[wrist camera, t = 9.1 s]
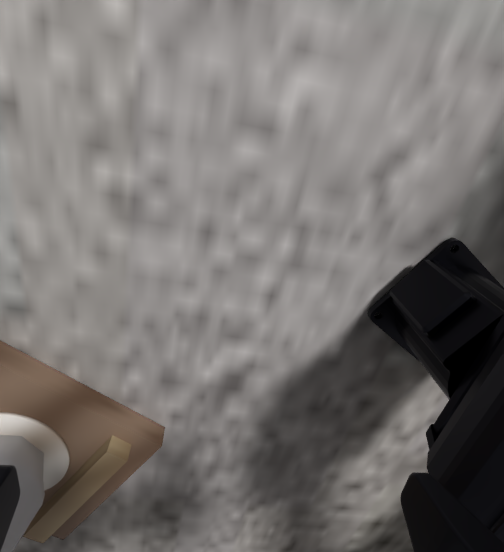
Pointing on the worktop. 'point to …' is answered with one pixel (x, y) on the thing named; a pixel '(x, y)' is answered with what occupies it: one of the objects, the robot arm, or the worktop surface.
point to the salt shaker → (23, 484)
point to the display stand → (71, 439)
